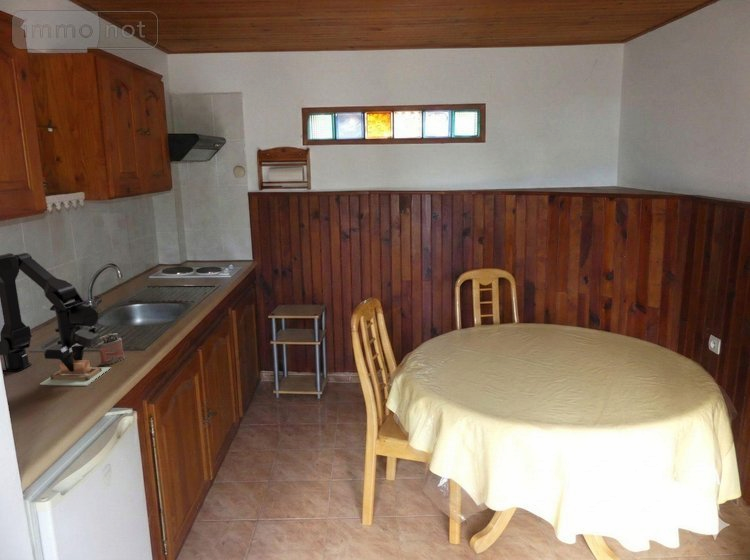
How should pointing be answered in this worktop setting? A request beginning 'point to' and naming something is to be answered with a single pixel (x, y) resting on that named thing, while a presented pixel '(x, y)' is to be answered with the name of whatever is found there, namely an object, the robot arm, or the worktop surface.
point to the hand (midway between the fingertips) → (75, 369)
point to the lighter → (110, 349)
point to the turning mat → (75, 377)
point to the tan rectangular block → (76, 367)
